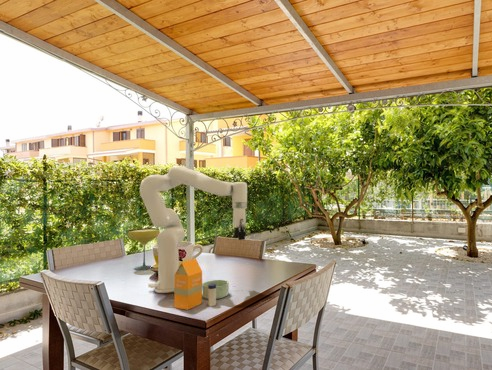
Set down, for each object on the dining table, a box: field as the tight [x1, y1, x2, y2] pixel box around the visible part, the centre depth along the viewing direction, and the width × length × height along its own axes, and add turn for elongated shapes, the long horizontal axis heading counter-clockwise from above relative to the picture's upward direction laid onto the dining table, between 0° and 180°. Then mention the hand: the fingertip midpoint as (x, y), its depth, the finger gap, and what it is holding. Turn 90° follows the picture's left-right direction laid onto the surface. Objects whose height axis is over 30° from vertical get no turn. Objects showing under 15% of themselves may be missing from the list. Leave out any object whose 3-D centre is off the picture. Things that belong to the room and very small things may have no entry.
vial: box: [207, 284, 217, 307], centre depth 143 cm, size 3×3×9 cm
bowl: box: [202, 279, 230, 300], centre depth 155 cm, size 12×12×6 cm
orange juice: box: [173, 258, 203, 311], centre depth 142 cm, size 8×9×20 cm
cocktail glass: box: [127, 227, 161, 271], centre depth 208 cm, size 18×18×25 cm
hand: (239, 238), depth 166 cm, fingers open, 9 cm apart
